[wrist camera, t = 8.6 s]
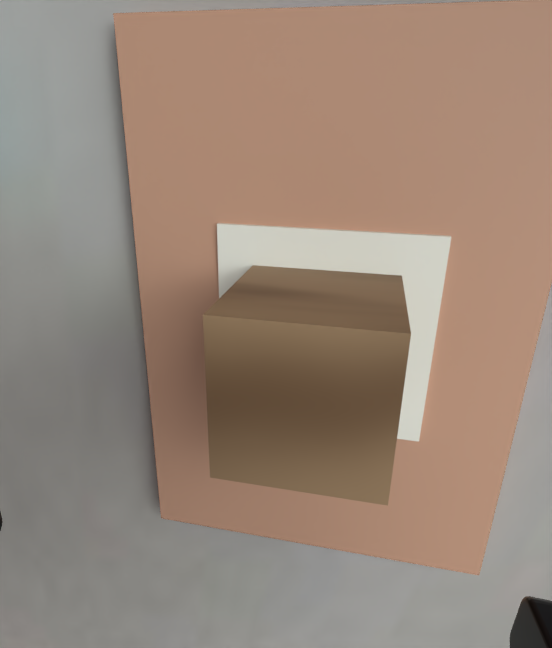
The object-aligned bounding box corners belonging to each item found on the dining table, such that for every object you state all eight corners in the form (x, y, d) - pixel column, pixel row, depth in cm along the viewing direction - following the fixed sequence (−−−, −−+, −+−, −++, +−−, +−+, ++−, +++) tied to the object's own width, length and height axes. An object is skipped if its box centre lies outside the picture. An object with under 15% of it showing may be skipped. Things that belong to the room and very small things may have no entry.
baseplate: (474, 555, 20) (480, 579, 19) (169, 502, 23) (159, 521, 22) (605, 7, 13) (626, -5, 12) (129, 20, 15) (109, 11, 14)
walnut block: (385, 407, 17) (387, 505, 13) (253, 391, 18) (209, 477, 13) (401, 275, 15) (411, 333, 11) (253, 265, 16) (202, 315, 12)
